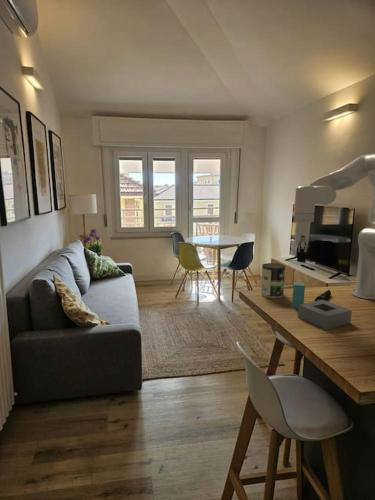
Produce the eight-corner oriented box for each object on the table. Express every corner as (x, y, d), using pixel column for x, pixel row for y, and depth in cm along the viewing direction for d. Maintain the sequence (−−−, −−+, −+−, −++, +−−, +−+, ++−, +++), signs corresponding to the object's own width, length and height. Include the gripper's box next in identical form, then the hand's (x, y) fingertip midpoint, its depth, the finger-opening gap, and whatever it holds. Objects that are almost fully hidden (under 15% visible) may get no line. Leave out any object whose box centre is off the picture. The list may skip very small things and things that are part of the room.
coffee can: (285, 293, 152) (287, 264, 149) (280, 299, 143) (282, 269, 140) (264, 290, 157) (265, 262, 154) (258, 296, 148) (259, 266, 146)
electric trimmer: (333, 296, 148) (333, 290, 148) (322, 305, 137) (322, 298, 136) (324, 295, 151) (325, 288, 150) (313, 303, 139) (313, 296, 139)
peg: (292, 304, 137) (293, 281, 135) (302, 305, 136) (304, 282, 134) (292, 307, 133) (293, 284, 131) (303, 309, 132) (305, 285, 130)
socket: (297, 317, 123) (298, 304, 122) (321, 311, 129) (322, 299, 128) (326, 330, 112) (327, 316, 111) (350, 323, 118) (351, 310, 117)
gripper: (293, 215, 137) (290, 254, 140) (294, 218, 121) (291, 263, 124) (312, 216, 135) (309, 256, 138) (315, 219, 118) (312, 264, 122)
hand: (300, 259), depth 131 cm, fingers open, 9 cm apart
